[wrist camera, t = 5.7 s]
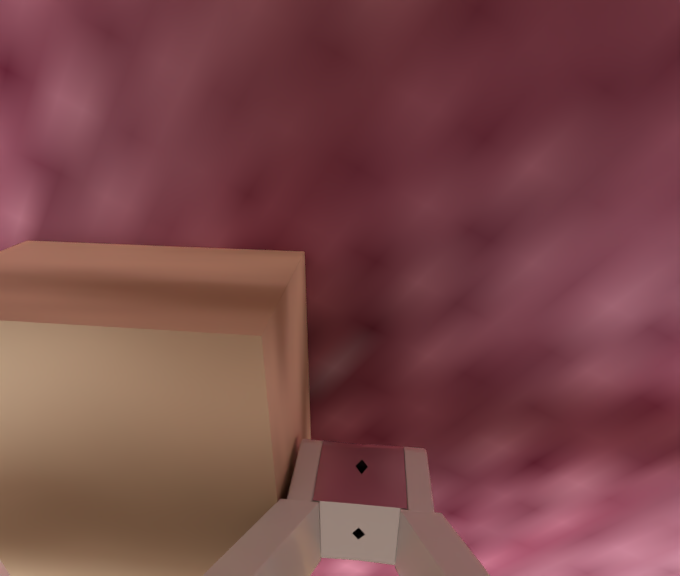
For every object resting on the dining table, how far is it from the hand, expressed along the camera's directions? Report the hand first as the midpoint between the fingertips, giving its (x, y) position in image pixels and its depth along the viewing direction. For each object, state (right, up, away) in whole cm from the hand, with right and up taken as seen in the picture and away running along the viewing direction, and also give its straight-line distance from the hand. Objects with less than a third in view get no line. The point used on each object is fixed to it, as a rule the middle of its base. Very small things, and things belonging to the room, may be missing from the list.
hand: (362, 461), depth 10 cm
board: (-5, +1, +2) cm, 6 cm away
